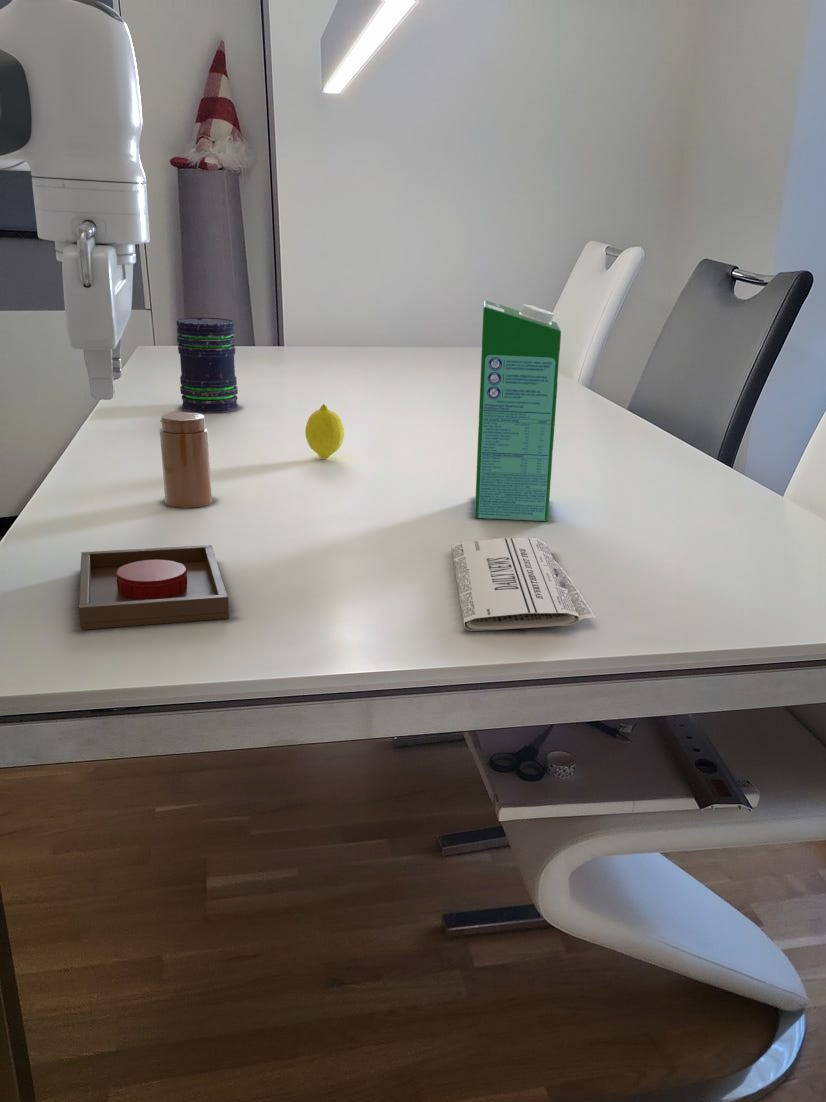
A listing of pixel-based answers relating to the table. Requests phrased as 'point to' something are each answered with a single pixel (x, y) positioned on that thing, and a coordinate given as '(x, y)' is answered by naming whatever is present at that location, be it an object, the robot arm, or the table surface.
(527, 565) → the newspaper
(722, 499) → the table surface
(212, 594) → the tray
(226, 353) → the dark purple barrel
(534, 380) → the milk carton
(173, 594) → the lid
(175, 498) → the jar
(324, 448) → the fruit
